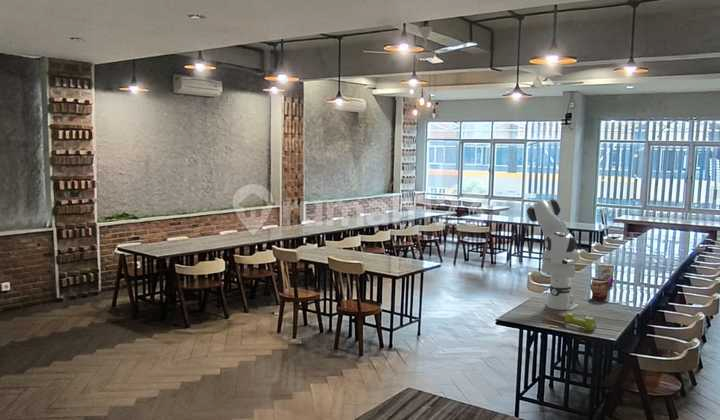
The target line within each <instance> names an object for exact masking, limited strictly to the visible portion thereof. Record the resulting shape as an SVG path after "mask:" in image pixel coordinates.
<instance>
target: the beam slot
mask: <svg viewBox="0 0 720 420" xmlns="http://www.w3.org/2000/svg"><path fill="white" fill-rule="evenodd" d="M565 316H566V315H563V314H557V313H554V314H553V318H554V319H552V318H549V317H548V318H547V317H543V318H542V323H545V322H546V324H549V325H554V326H558V327H562V328H566V329H569V330H574V331H578V332H582V333H585V331H586V327H584V326H585V325H583V326H582V325H580V326H579V325H578V324H569V323H565ZM555 319H557V320H555ZM595 328H597V323H596V322H595V327H594V329H595Z"/></svg>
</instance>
